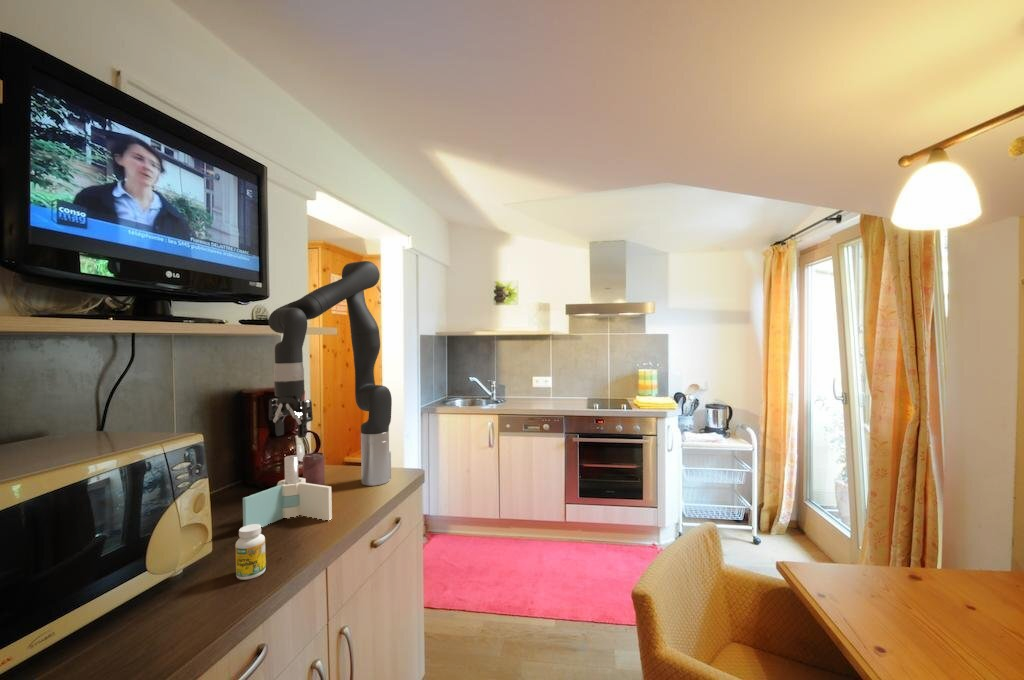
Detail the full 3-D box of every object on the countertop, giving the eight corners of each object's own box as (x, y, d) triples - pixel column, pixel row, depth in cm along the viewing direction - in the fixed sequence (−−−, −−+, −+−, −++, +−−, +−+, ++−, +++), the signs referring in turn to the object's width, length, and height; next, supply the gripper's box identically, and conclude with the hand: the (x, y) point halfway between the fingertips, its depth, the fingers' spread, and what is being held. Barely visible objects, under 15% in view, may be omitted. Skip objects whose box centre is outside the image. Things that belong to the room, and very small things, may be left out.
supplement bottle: (269, 565, 95) (268, 521, 96) (261, 578, 90) (260, 531, 90) (241, 568, 94) (240, 523, 94) (231, 582, 89) (230, 534, 89)
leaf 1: (293, 507, 129) (293, 476, 129) (311, 510, 127) (310, 479, 127) (235, 531, 113) (234, 496, 113) (254, 536, 110) (253, 500, 110)
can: (297, 502, 133) (297, 455, 134) (316, 495, 139) (315, 451, 139) (311, 505, 131) (310, 458, 131) (329, 498, 136) (328, 453, 136)
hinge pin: (293, 510, 127) (292, 454, 127) (302, 512, 126) (301, 455, 126) (282, 514, 124) (281, 457, 124) (291, 516, 122) (290, 458, 122)
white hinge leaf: (293, 507, 129) (293, 476, 129) (340, 515, 122) (339, 483, 122) (272, 516, 123) (271, 483, 123) (320, 525, 116) (319, 491, 116)
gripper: (318, 378, 125) (320, 435, 125) (282, 377, 131) (284, 432, 131) (296, 380, 118) (298, 441, 118) (259, 379, 124) (261, 437, 124)
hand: (290, 436), depth 125 cm, fingers open, 8 cm apart
